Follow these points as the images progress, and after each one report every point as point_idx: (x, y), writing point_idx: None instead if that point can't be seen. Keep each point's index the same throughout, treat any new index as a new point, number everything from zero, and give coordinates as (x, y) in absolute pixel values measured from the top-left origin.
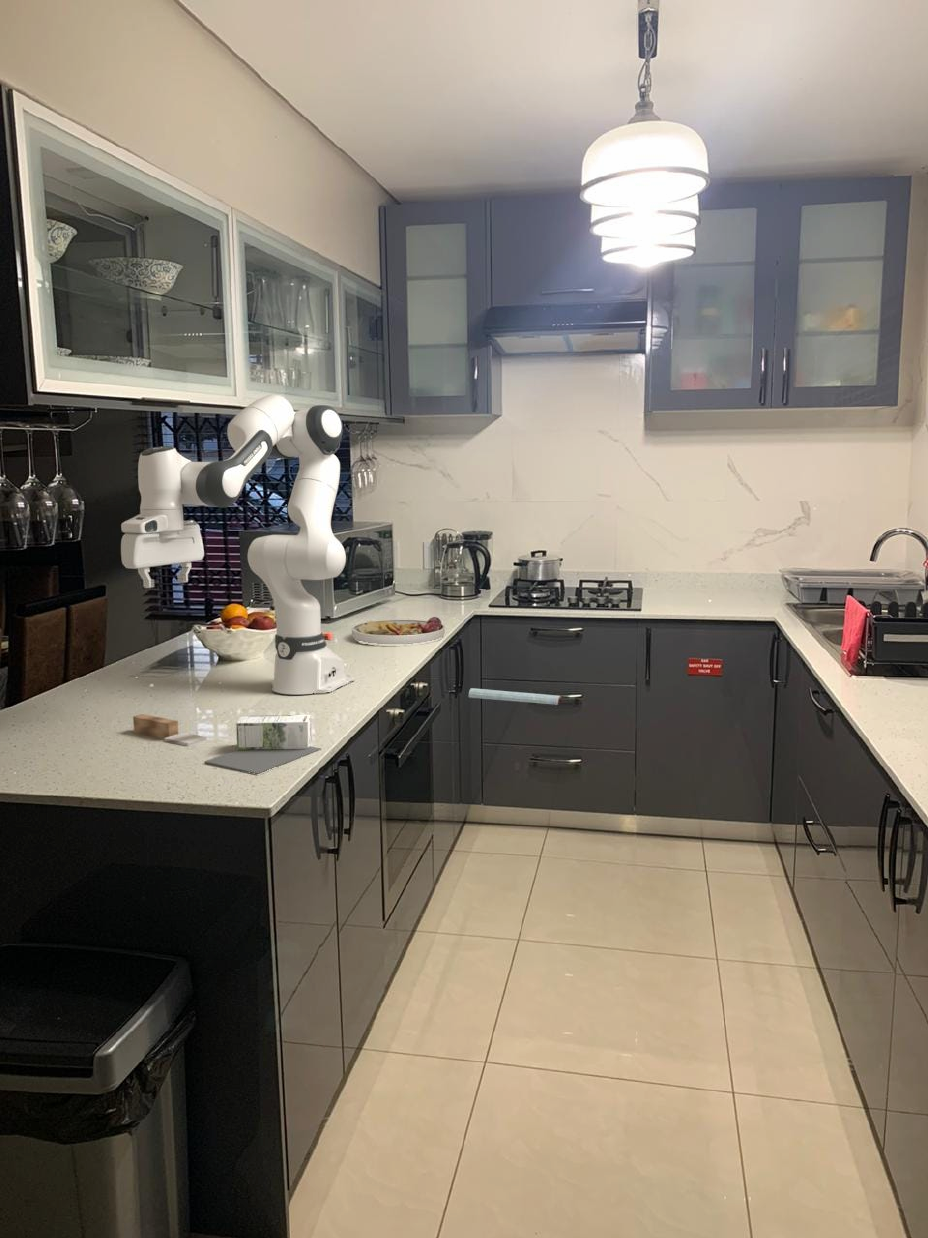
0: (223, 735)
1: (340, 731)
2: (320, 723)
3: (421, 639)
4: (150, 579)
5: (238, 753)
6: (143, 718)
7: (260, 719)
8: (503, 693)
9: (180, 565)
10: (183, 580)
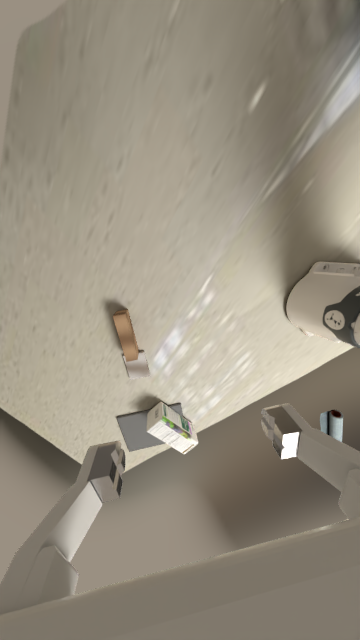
0: (167, 371)
1: (226, 413)
2: (234, 391)
3: None
4: (98, 507)
5: (143, 418)
6: (117, 330)
7: (165, 434)
8: (337, 435)
9: (353, 480)
10: (269, 435)
